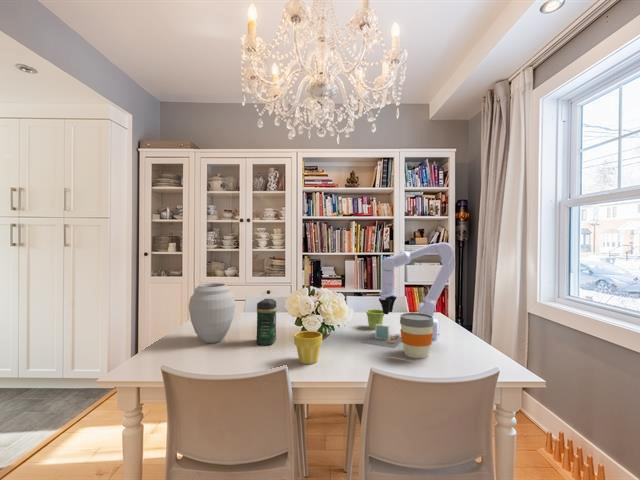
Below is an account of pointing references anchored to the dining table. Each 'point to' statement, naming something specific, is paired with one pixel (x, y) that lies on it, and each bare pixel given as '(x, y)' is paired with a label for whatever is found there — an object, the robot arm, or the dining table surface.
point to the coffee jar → (266, 322)
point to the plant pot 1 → (308, 346)
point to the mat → (381, 341)
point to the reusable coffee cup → (416, 334)
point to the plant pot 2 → (374, 318)
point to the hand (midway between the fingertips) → (387, 312)
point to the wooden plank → (393, 339)
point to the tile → (383, 331)
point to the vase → (211, 311)
